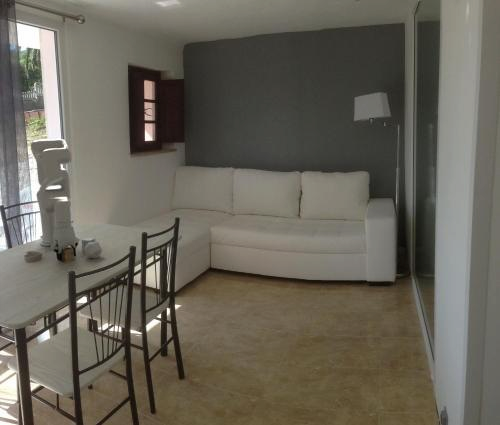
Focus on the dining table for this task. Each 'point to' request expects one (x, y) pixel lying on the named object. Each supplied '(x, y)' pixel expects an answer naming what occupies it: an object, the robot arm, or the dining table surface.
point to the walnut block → (67, 254)
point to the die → (92, 250)
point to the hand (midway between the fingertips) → (66, 258)
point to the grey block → (86, 240)
